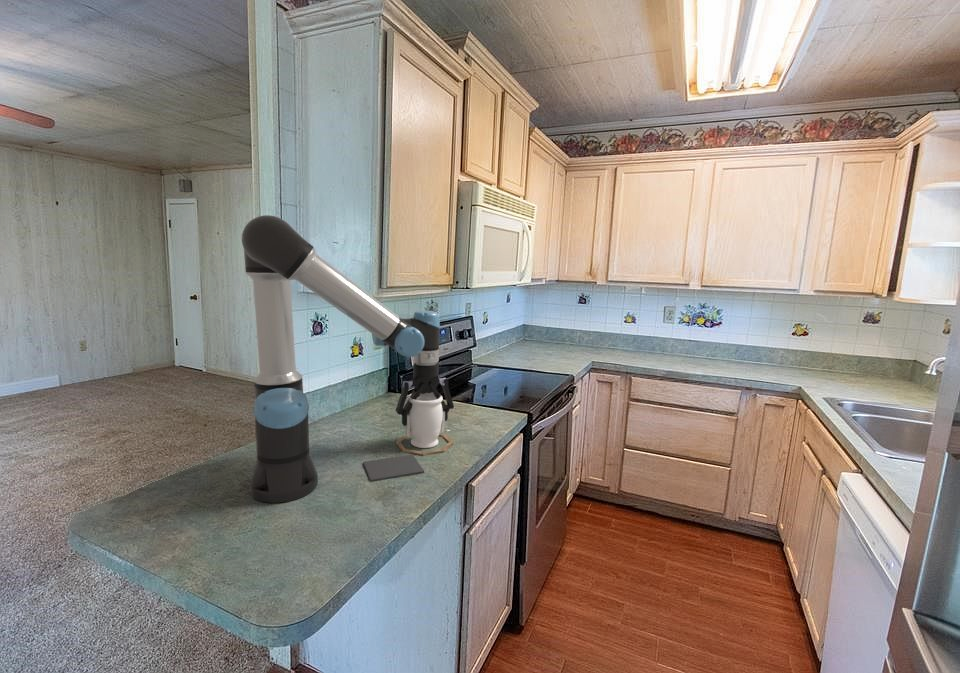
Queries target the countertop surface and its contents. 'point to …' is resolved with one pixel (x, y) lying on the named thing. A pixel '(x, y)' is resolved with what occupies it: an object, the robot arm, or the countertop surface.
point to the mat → (392, 467)
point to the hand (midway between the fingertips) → (424, 432)
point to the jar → (425, 420)
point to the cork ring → (427, 451)
